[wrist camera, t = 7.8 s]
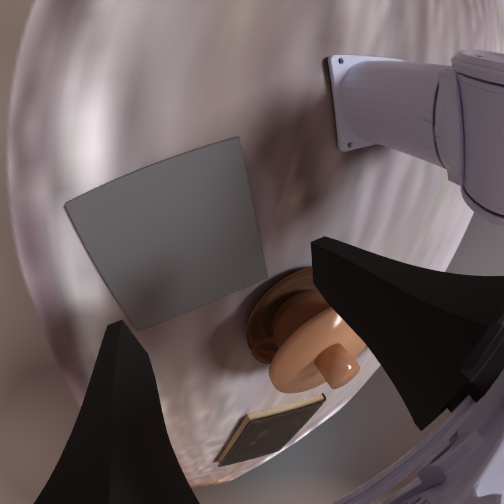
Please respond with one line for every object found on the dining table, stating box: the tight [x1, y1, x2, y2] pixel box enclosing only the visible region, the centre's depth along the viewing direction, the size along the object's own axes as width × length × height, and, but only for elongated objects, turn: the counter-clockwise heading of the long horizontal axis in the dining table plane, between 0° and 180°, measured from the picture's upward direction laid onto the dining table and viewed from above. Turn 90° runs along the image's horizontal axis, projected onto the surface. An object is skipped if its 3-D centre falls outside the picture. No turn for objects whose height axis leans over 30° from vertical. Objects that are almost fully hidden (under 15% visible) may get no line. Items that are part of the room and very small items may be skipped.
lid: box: [269, 307, 366, 393], centre depth 22 cm, size 11×11×4 cm
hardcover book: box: [218, 393, 326, 467], centre depth 45 cm, size 16×23×2 cm
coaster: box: [65, 137, 268, 331], centre depth 19 cm, size 12×12×1 cm
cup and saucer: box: [246, 267, 331, 364], centre depth 26 cm, size 12×12×6 cm
